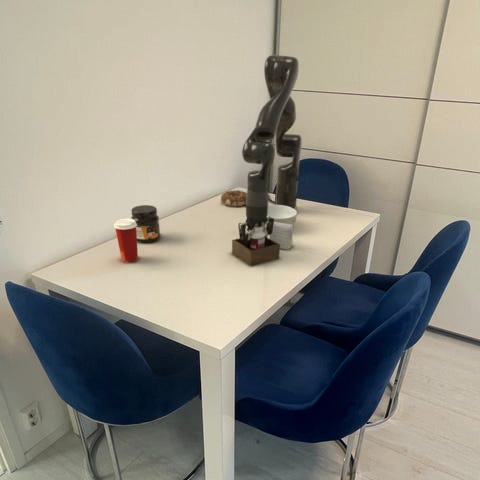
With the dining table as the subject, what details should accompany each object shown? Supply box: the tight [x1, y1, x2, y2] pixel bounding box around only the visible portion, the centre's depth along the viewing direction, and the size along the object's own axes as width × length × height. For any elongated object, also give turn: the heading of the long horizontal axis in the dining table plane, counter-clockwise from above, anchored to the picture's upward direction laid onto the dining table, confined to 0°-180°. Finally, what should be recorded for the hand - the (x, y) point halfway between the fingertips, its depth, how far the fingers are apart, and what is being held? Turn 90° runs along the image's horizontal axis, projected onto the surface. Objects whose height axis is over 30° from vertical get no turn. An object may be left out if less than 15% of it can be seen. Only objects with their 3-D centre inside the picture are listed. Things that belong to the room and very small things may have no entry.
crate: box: [231, 237, 281, 267], centre depth 165 cm, size 12×12×6 cm
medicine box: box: [268, 222, 294, 251], centre depth 172 cm, size 8×4×9 cm, turn 65°
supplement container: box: [130, 204, 161, 244], centre depth 177 cm, size 10×10×12 cm
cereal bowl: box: [265, 204, 298, 227], centre depth 190 cm, size 17×17×7 cm
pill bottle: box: [248, 226, 265, 251], centre depth 164 cm, size 6×6×11 cm
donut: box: [220, 189, 247, 207], centre depth 218 cm, size 14×14×5 cm
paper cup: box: [113, 218, 139, 264], centre depth 159 cm, size 8×8×14 cm
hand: (255, 248), depth 165 cm, fingers closed on pill bottle, 6 cm apart
